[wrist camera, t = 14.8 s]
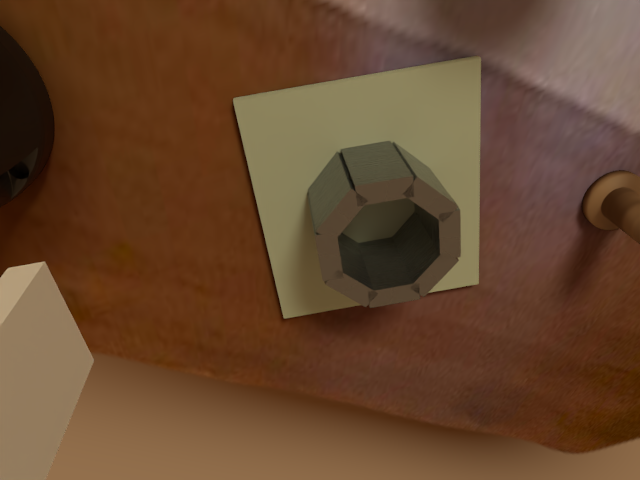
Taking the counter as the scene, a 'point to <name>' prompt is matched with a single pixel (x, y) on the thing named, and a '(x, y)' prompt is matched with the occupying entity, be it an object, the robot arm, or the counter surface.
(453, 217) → the grey hollow octagonal ring
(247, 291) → the counter surface
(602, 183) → the tan peg with base
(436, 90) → the sage mat
